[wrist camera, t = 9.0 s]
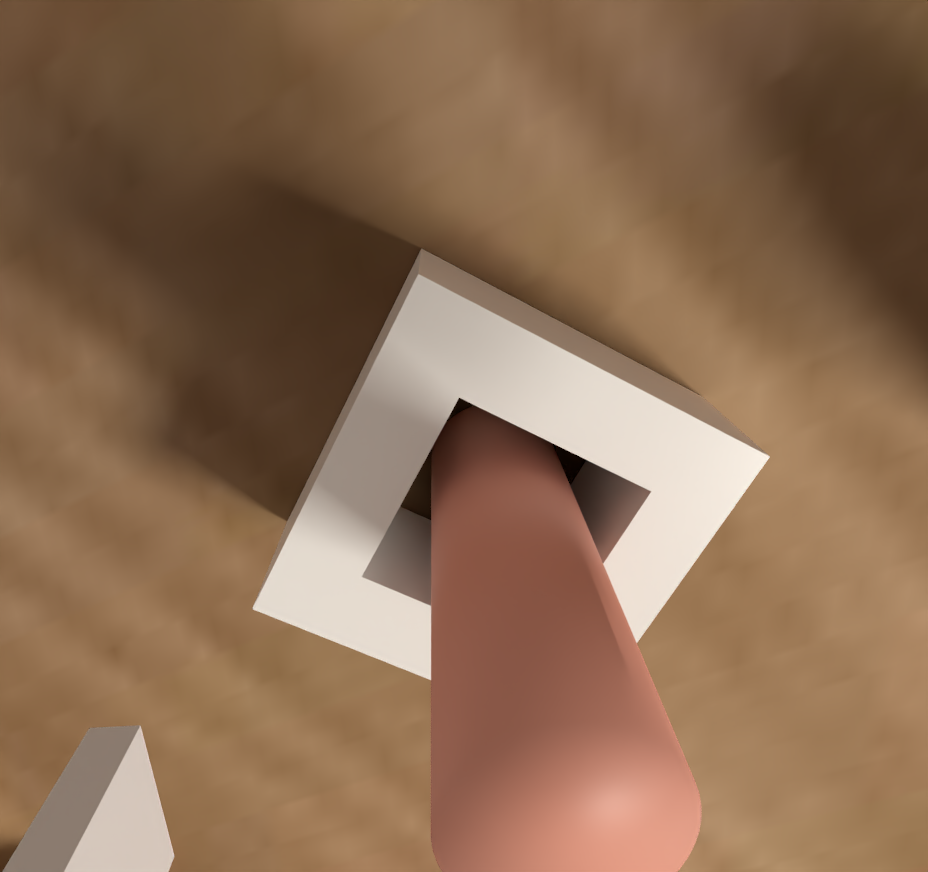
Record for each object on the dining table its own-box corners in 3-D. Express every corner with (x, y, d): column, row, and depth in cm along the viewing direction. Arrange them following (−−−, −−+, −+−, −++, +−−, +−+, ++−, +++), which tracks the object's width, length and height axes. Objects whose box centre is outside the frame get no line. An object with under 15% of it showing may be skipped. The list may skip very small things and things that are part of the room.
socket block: (421, 248, 21) (418, 274, 17) (702, 396, 23) (769, 456, 19) (286, 522, 24) (252, 609, 20) (546, 633, 26) (570, 735, 22)
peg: (466, 381, 23) (514, 679, 10) (576, 435, 24) (755, 778, 11) (410, 485, 24) (384, 876, 11) (516, 533, 25) (610, 951, 12)
